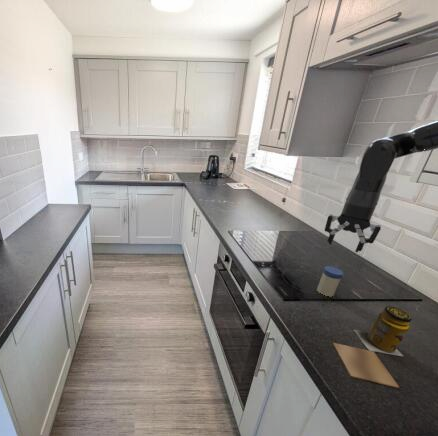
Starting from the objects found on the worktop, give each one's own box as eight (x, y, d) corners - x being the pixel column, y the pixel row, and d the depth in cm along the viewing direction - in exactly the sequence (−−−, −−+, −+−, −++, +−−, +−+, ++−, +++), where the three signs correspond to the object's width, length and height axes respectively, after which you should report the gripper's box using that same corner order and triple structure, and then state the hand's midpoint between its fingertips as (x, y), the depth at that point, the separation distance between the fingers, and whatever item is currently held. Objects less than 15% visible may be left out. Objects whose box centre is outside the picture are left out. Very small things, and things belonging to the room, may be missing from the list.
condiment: (403, 356, 64) (424, 324, 59) (369, 351, 65) (386, 318, 61) (383, 335, 70) (401, 304, 66) (352, 330, 72) (367, 299, 67)
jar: (329, 289, 90) (338, 268, 87) (336, 298, 86) (345, 276, 82) (314, 286, 92) (322, 266, 88) (320, 295, 87) (328, 274, 83)
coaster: (373, 352, 65) (373, 351, 65) (398, 388, 56) (399, 387, 56) (332, 343, 67) (332, 342, 67) (350, 376, 58) (351, 375, 58)
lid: (337, 271, 87) (338, 267, 87) (344, 280, 82) (346, 276, 82) (320, 269, 89) (321, 265, 88) (326, 277, 84) (328, 273, 83)
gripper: (391, 206, 73) (370, 251, 79) (335, 196, 82) (320, 237, 88) (391, 211, 68) (369, 259, 74) (331, 199, 77) (316, 243, 83)
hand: (343, 247), depth 81 cm, fingers open, 7 cm apart
